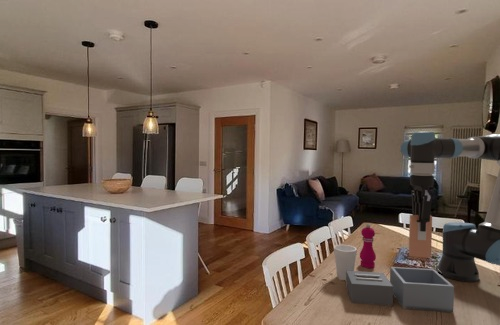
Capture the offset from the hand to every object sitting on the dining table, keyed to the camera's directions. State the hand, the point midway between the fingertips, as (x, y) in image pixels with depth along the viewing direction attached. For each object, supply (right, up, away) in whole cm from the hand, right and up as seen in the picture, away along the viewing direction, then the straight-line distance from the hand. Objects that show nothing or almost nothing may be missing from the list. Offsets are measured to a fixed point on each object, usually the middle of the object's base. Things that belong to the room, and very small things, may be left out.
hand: (420, 238), depth 110 cm
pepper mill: (-6, -22, +34) cm, 41 cm away
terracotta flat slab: (0, -6, 0) cm, 6 cm away
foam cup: (-21, -22, +20) cm, 37 cm away
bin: (0, -23, +1) cm, 23 cm away
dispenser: (-18, -23, +4) cm, 29 cm away
